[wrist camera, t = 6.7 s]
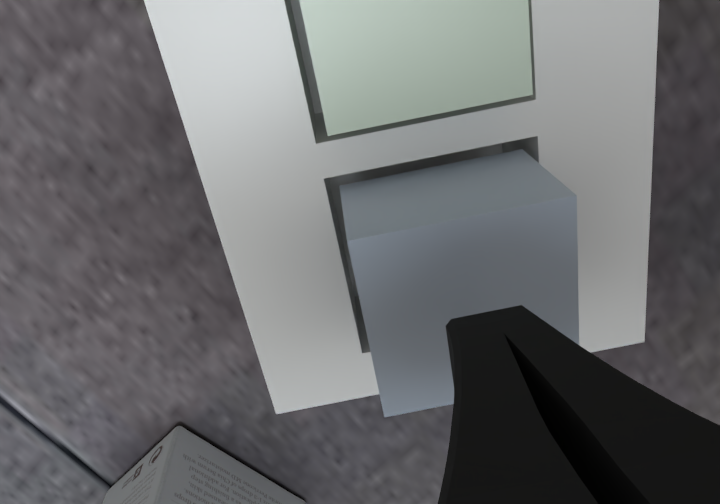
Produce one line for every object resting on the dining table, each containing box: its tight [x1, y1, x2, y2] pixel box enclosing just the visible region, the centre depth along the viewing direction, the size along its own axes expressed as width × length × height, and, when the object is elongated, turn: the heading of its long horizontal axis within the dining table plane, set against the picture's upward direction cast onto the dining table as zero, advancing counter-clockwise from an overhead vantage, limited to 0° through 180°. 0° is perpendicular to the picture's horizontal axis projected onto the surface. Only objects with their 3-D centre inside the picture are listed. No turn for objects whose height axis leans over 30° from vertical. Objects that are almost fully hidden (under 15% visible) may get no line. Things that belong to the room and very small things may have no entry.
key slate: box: [339, 149, 579, 417], centre depth 13 cm, size 4×4×3 cm
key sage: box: [299, 0, 533, 136], centre depth 12 cm, size 4×4×3 cm
